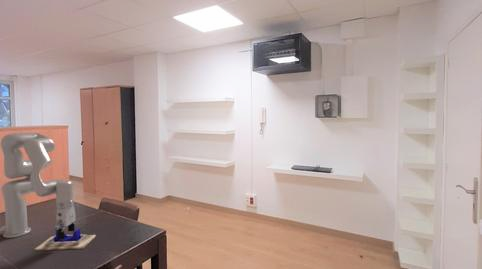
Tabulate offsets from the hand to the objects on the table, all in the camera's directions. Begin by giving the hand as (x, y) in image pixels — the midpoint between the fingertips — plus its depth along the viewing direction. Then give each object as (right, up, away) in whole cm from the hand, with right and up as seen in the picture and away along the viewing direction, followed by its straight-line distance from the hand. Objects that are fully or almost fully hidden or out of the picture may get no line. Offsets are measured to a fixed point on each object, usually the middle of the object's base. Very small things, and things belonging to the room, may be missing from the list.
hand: (66, 234), depth 143 cm
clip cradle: (0, -4, 0) cm, 4 cm away
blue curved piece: (0, -4, 0) cm, 4 cm away
